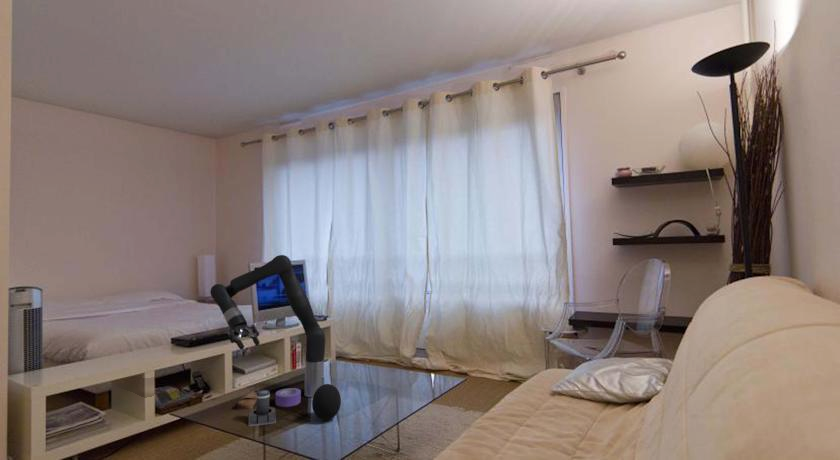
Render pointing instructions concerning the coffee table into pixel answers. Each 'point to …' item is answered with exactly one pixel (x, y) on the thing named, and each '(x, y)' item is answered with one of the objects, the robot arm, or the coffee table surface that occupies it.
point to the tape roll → (288, 397)
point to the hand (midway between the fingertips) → (250, 346)
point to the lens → (262, 402)
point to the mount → (262, 418)
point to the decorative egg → (326, 402)
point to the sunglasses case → (247, 401)
